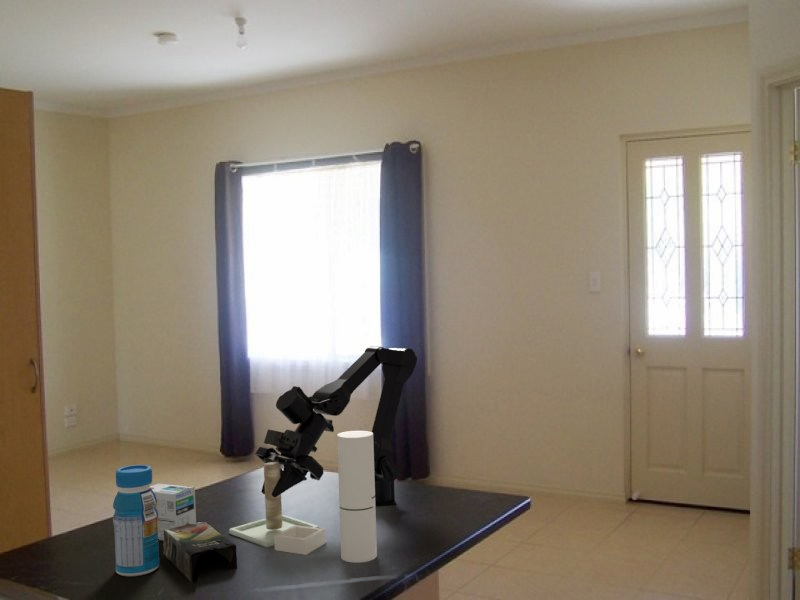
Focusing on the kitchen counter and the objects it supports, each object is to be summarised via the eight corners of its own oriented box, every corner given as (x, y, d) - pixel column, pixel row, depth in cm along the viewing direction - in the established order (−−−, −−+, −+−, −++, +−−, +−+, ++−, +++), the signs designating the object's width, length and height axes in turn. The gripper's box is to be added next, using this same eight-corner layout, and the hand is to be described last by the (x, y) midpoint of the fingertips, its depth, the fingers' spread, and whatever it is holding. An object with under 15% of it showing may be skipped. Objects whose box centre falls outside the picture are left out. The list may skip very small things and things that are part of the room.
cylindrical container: (382, 554, 159) (378, 431, 158) (369, 566, 152) (365, 438, 152) (349, 551, 161) (345, 430, 161) (335, 563, 155) (331, 437, 154)
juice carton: (159, 553, 164) (158, 524, 164) (205, 544, 169) (205, 516, 169) (189, 585, 147) (188, 552, 147) (239, 574, 152) (239, 542, 152)
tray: (281, 520, 183) (281, 514, 183) (319, 533, 173) (319, 526, 173) (229, 536, 173) (229, 528, 173) (266, 550, 164) (266, 542, 163)
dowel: (284, 524, 175) (281, 462, 174) (279, 529, 171) (277, 466, 171) (269, 524, 175) (266, 462, 175) (264, 529, 172) (261, 466, 171)
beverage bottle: (116, 580, 149) (112, 475, 148) (113, 566, 157) (109, 466, 156) (162, 573, 152) (158, 470, 152) (157, 559, 160) (153, 461, 160)
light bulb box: (197, 534, 176) (196, 486, 175) (177, 543, 170) (175, 493, 169) (160, 528, 180) (158, 482, 180) (139, 538, 174) (137, 489, 174)
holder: (295, 541, 169) (294, 525, 169) (325, 545, 165) (325, 528, 165) (274, 552, 162) (274, 535, 162) (306, 557, 158) (305, 540, 158)
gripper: (260, 411, 182) (221, 467, 175) (311, 419, 169) (270, 481, 161) (289, 439, 188) (252, 495, 180) (340, 449, 175) (302, 510, 167)
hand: (267, 494), depth 172 cm, fingers closed on dowel, 3 cm apart
